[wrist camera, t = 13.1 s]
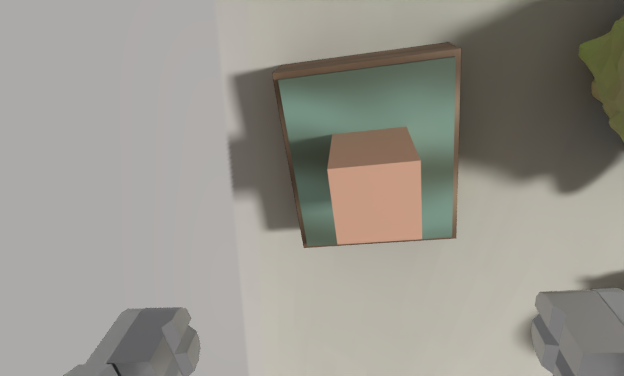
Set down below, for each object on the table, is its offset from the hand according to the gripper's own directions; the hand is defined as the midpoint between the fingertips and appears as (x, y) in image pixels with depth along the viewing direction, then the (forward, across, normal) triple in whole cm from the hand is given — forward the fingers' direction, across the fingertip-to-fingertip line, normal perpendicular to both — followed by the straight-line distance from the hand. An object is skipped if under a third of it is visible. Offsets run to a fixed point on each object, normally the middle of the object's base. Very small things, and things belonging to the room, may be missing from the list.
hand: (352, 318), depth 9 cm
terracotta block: (+18, -1, +4) cm, 19 cm away
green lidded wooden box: (+22, -1, +5) cm, 23 cm away
